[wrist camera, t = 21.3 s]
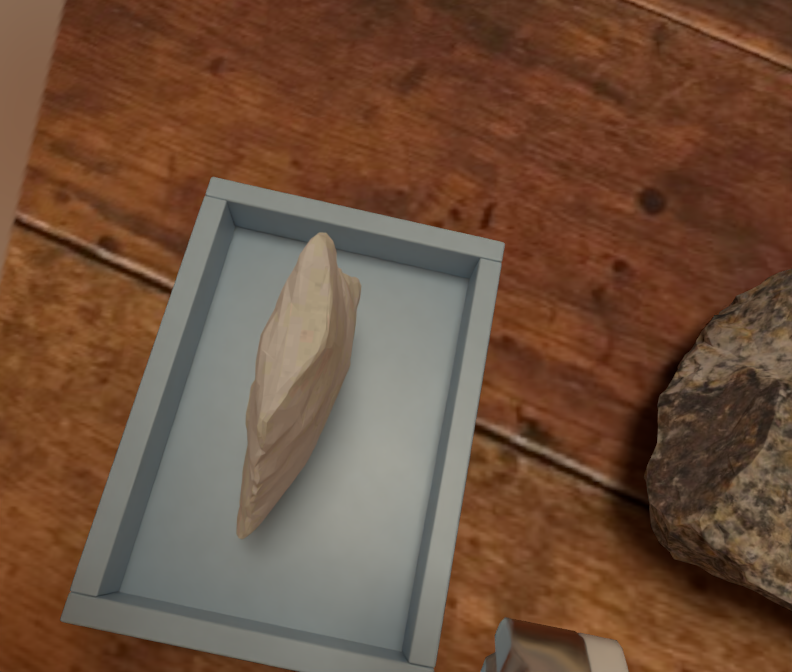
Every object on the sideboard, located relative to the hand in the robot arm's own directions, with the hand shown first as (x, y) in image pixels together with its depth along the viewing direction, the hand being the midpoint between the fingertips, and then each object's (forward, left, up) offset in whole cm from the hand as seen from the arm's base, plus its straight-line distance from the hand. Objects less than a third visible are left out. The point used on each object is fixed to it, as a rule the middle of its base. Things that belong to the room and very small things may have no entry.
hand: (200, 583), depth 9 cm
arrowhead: (0, +4, -13) cm, 14 cm away
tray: (0, +5, -13) cm, 14 cm away
